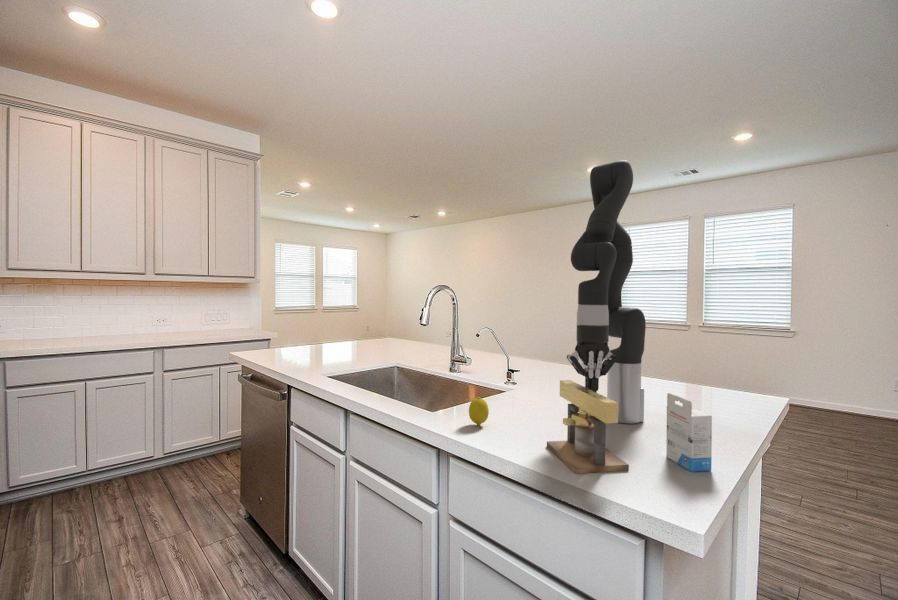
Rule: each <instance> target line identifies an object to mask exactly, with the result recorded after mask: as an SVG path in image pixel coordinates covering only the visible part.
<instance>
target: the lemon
mask: <svg viewBox="0 0 898 600" xmlns="http://www.w3.org/2000/svg"><path fill="white" fill-rule="evenodd" d="M489 412H490V411H489V405H488V403H487V402H486V400H485V399H483V398H481V397H480V396H478V397H476V398H474V399H473V400H472V401H470V403H469V407H468V415H469V419H470V420H471V422H473V423H475V424H476V425H477V426H481V425H482V424H484V423H485V422H486V421H487V420H488V417H489V414H490V413H489Z"/></svg>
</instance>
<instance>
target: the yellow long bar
mask: <svg viewBox="0 0 898 600" xmlns="http://www.w3.org/2000/svg"><path fill="white" fill-rule="evenodd" d="M559 397H561V398H562V399H564V400H566V401H568V402H569V403H570V404H574V405H576V406H577V407H579V412H578V413H574V414H572V416H571V418H568V417H566V418H565V417H564V418H562V424H563V425H564V426H568V425H573V426H575V427H579V428H584V429H594V424H592V423H591V422H589V421H588V416H594V417H596V418H598V419H599V420H601V421H603V422H604V423H606V424H618V423H619V422H618V403H617V402H615V401H613V400H611V399H609V398H607V396H604V395H602V394H600V393H598V392H597V393H596V392H594V391H592V390H590V389H588V388H586V387H585V385H582V384H579V383H577V382H576V381H573V380H571V379H559Z"/></svg>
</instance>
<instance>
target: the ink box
mask: <svg viewBox="0 0 898 600" xmlns="http://www.w3.org/2000/svg"><path fill="white" fill-rule="evenodd" d="M676 402H679V403H681V404H677V403H676ZM692 403H693V402H692V401H691V400H688V399H686V398H683V397H681V396H678V395H676V394H672V393H670V392H668V393H666V447H665V448H666V451H665V452H666V458H668V459H670V460H671V461H673V462H674V463H676V464H678V465H679V466H681V467H682V468H684V469H686V470H687V471H689V472H711V471H712V458H713V457H712V453H713V451H712V444H713V443H712V442H713V441H712V439H713V436H712V435H713V434H712V433H713V432H712V431H713V430H712V429H713V427H712V426H713V416H712V415H710V414H708V413H705V412H703V411H700V410H697V409H696V408H693V407H692V406H693V404H692Z"/></svg>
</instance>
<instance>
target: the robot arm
mask: <svg viewBox="0 0 898 600" xmlns="http://www.w3.org/2000/svg"><path fill="white" fill-rule="evenodd" d="M633 172H634V171H633V169H632V165H631V163H630V162H629V161H628V160H625V159H622V160H621V159H620V160H615V161H612V162H607V163H604V164H600V165H597V166H594V167H592V168H591V170H590V174H589V181H590V182H589V183H590V191H591V197H592V203H593V208H594V209H593V210H592V212H591V214H590V215H589V217H588V220H587V224H586V228H585V230H584V232H583V233H582V234H581V236H580V237H579V239H578V240H577V241H576V243H575V244H574V246H573V248H572V250H571V253H570V263H571V266H572V267H573V268H574V269H575V271H579V272H588V271H589V272H598V274H597V275H596V277H595V278H592V279H588V280H584V281H582V282H579V284H578V286H577V287H578V288H577V289H578V290H577V291H578V292H577V294H578V295H577V311H576V346H575V348H574V351H573V352H572V353H571V354H567V355H566V359H567V360H568V362H569V363H570V365H572V367H573V368H574V370H575V371H576V372H577V374H578V375H581V376H583V377H585V379H584V381H585V382H584V387H586V388H588V389H590V390H592V391H594V392H596V393H598V391H599V382H600V381H599V379H600V377H602V376H607V381H606V382H607V383H606V384H607V385H606V386H607V387H606V391H607V392H606V393H607V394H606V397H607V398H609V399H611V400H613V401H615V402H617V403H618V423H621V424H630V425H631V424H632V425H633V424H639V423H641V422H644V421H645V389H644V388H643V387H642V360H643V359H642V357H643V355H644V351H645V341H646V330H647V329H646V328H647V325H646V323H647V321H646V318H645V313H644V312H643V311H642V310H641V309H640V308H637V307H628V306H627V307H625V306H623V303H622V291H623V287H624V284H625V282H626V279H627V278H628V275H629V273H630V271H631V269H632V266H633V261H634V255H633V253H634V252H633V244H632V239H631V237H630V234H629V233H628V232H627V230H626V229H625V228H624V226H622V224H621V223H620V222H619V221H618V219H619V215H620V214H621V211H622V209H623V207H624V205H625V203H626V202H627V198H628V197H629V195H630V192H631V190H632V188H633V185H634V183H633V182H634V173H633ZM609 337H611V338H617V339H618V338H619V339H620V345H619V346H618V347H616V348H614V349H610V347H609V345H608V343H609V342H610V341H609ZM579 360H581V362H582V364H581V363H580V361H579Z"/></svg>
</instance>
